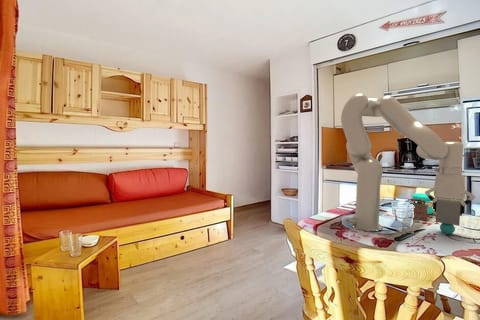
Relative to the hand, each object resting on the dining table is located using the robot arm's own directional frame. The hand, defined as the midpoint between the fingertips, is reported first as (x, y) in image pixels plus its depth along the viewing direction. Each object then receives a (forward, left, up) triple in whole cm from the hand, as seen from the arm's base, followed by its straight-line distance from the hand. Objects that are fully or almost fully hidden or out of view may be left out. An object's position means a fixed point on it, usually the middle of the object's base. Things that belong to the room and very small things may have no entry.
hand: (448, 212), depth 111 cm
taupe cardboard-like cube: (0, 0, -4) cm, 4 cm away
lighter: (+1, +23, -9) cm, 25 cm away
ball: (0, 0, -7) cm, 7 cm away
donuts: (+10, +35, -9) cm, 38 cm away
